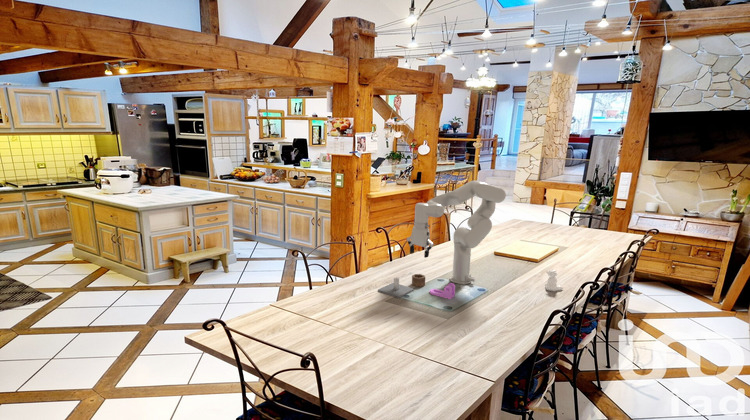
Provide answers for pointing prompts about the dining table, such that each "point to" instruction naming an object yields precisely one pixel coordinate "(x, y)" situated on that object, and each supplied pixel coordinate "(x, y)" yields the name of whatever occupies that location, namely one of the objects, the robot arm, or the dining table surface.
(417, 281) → the collar
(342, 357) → the dining table surface
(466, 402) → the dining table surface
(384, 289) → the post
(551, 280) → the seated beast figurine
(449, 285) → the bracket
